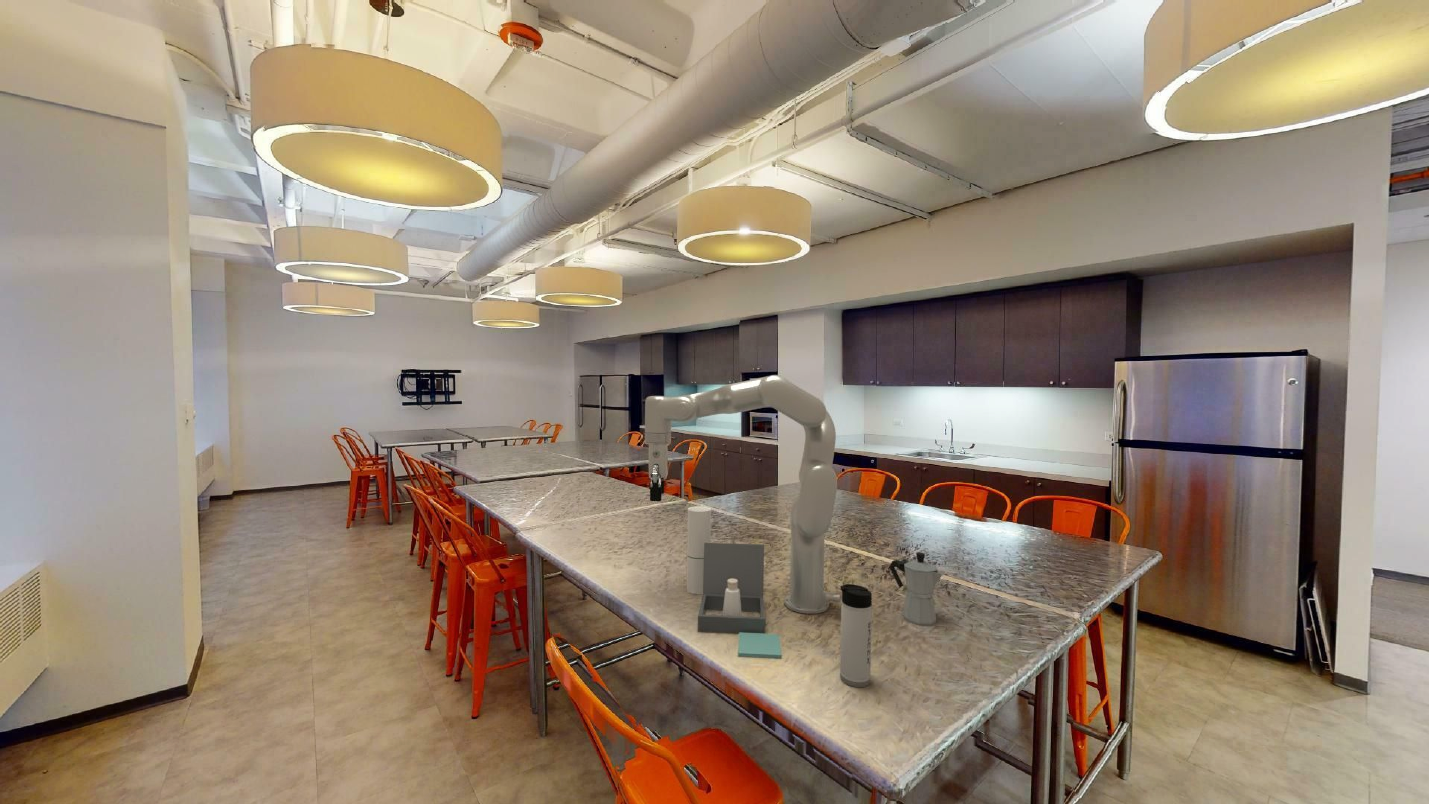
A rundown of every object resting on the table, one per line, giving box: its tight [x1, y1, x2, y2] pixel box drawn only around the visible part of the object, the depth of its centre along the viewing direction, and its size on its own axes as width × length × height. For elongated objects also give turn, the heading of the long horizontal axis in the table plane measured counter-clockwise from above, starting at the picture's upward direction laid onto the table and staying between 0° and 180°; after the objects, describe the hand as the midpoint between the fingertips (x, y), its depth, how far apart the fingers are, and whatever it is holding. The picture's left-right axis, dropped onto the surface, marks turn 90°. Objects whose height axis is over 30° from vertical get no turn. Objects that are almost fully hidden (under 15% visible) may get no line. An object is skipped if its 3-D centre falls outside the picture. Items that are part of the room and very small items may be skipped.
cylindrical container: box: [686, 505, 712, 595], centre depth 156 cm, size 7×7×25 cm
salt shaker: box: [722, 578, 743, 616], centre depth 135 cm, size 5×5×11 cm
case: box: [697, 594, 766, 635], centre depth 135 cm, size 17×14×4 cm
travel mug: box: [839, 583, 873, 688], centre depth 108 cm, size 6×7×20 cm
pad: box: [737, 632, 783, 660], centre depth 122 cm, size 10×10×1 cm
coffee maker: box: [888, 551, 945, 626], centre depth 139 cm, size 15×9×18 cm, turn 47°
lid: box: [702, 542, 765, 597], centre depth 144 cm, size 17×14×1 cm
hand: (657, 497), depth 147 cm, fingers open, 9 cm apart
